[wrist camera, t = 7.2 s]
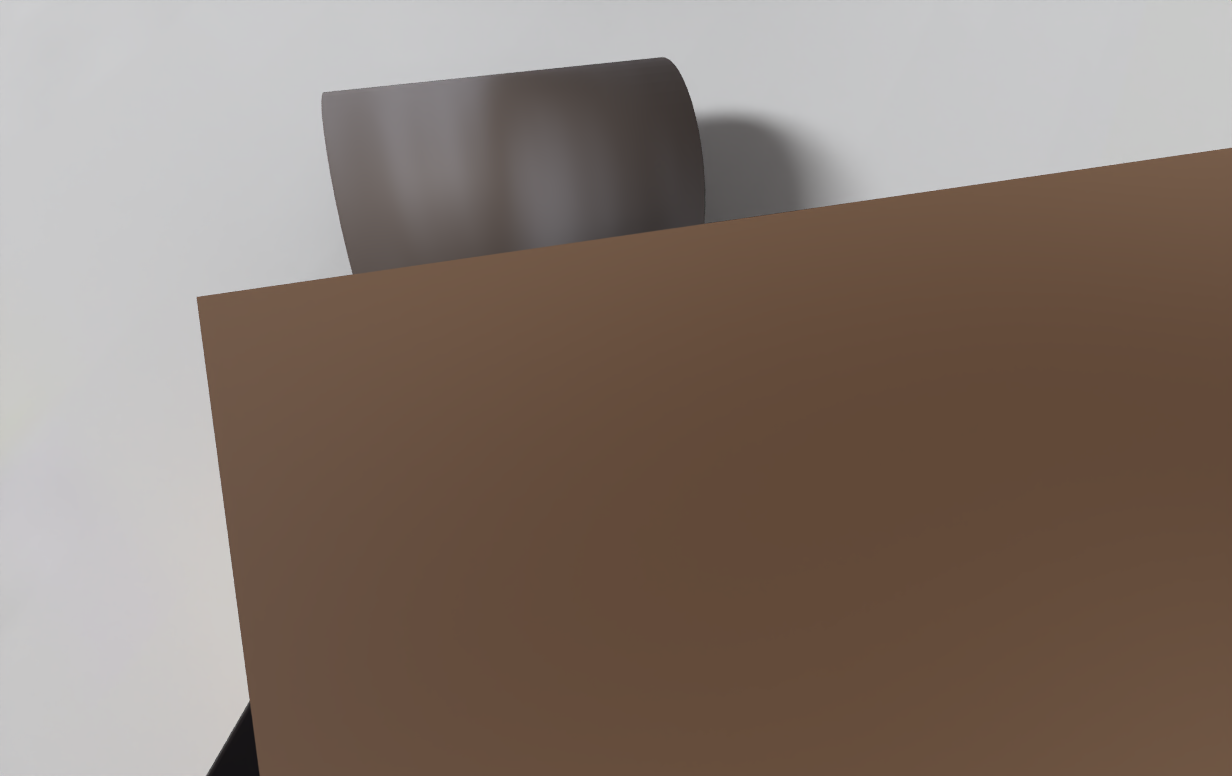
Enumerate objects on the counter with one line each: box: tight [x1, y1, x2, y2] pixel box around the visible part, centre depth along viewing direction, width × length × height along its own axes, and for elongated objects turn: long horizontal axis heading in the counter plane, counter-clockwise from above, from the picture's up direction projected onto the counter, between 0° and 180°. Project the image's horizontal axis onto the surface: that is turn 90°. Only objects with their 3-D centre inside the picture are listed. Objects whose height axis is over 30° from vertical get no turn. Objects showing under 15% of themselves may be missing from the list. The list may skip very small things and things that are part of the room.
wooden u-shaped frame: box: [321, 57, 705, 274], centre depth 14 cm, size 20×9×4 cm, turn 12°
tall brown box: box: [197, 148, 1232, 776], centre depth 9 cm, size 5×5×12 cm
